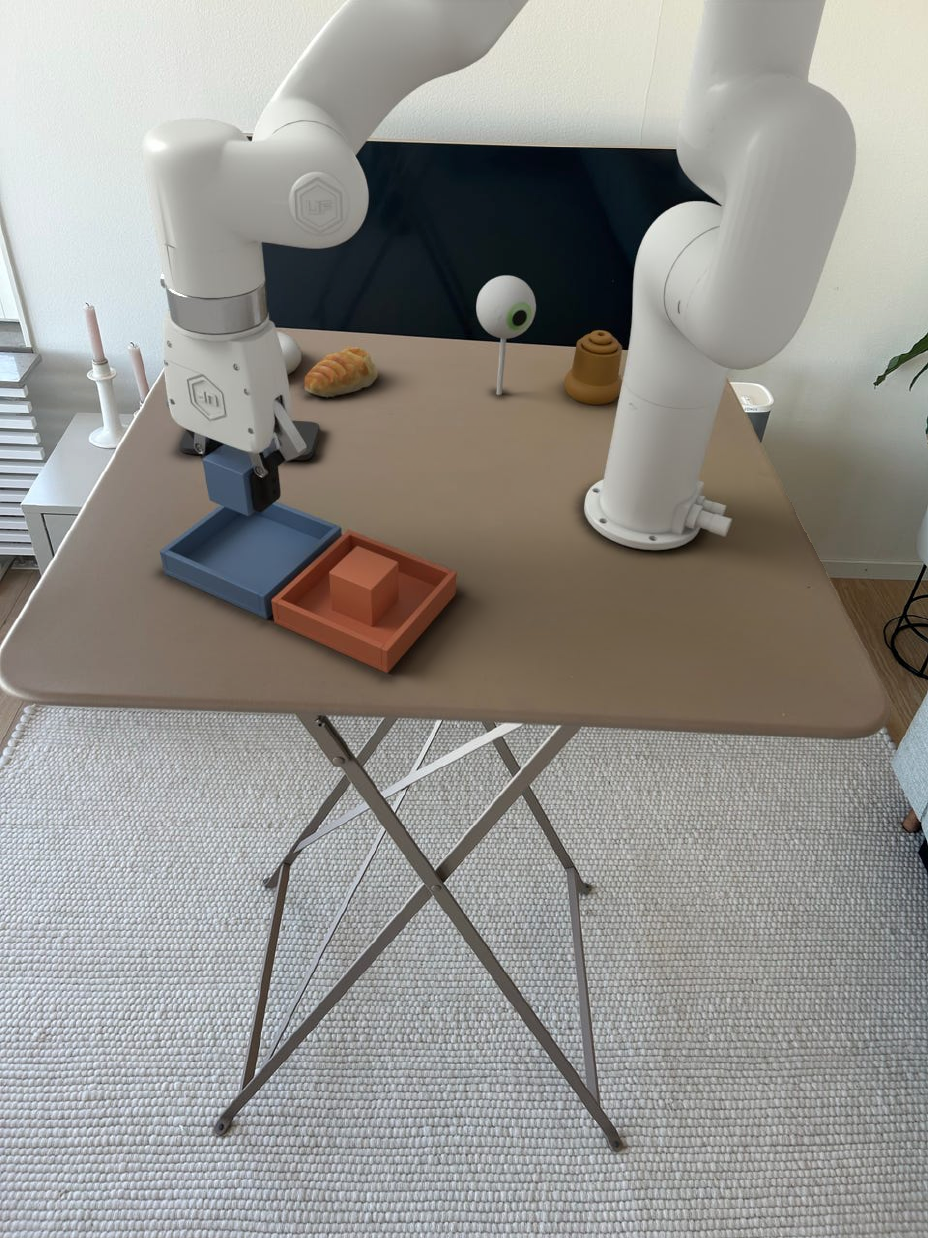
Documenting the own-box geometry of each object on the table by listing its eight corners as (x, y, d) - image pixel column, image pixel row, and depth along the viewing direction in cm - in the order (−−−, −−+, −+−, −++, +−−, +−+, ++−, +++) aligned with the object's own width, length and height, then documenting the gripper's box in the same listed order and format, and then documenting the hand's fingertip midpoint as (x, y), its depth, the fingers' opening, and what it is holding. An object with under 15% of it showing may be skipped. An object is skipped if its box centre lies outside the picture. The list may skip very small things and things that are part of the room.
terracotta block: (398, 598, 83) (398, 561, 80) (372, 627, 80) (371, 589, 77) (358, 582, 84) (357, 545, 81) (331, 609, 81) (328, 572, 78)
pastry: (328, 407, 108) (326, 379, 106) (291, 388, 112) (289, 360, 109) (382, 381, 114) (381, 353, 111) (345, 364, 117) (344, 336, 114)
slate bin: (342, 548, 89) (341, 526, 87) (266, 619, 81) (263, 596, 79) (246, 510, 92) (242, 487, 91) (164, 573, 84) (159, 551, 83)
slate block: (279, 492, 82) (275, 450, 79) (248, 516, 79) (242, 474, 76) (241, 477, 83) (235, 435, 80) (209, 500, 80) (202, 458, 77)
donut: (280, 392, 111) (315, 357, 118) (277, 367, 108) (313, 332, 115) (210, 376, 113) (248, 342, 120) (205, 351, 110) (245, 318, 117)
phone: (194, 414, 104) (321, 421, 104) (195, 420, 105) (321, 427, 105) (176, 448, 99) (310, 456, 99) (178, 454, 99) (310, 462, 99)
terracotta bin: (455, 594, 84) (457, 572, 83) (387, 673, 76) (387, 651, 74) (349, 551, 88) (348, 529, 86) (273, 622, 80) (271, 600, 78)
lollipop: (488, 412, 110) (496, 293, 99) (461, 386, 114) (467, 270, 104) (536, 400, 112) (550, 284, 102) (509, 376, 117) (519, 262, 106)
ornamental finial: (622, 383, 117) (617, 411, 111) (567, 375, 118) (559, 402, 112) (633, 325, 111) (628, 351, 106) (575, 317, 112) (567, 342, 107)
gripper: (101, 291, 69) (145, 485, 81) (276, 349, 64) (294, 547, 76) (168, 261, 74) (200, 449, 86) (336, 312, 68) (344, 504, 81)
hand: (244, 493), depth 81 cm, fingers closed on slate block, 4 cm apart
